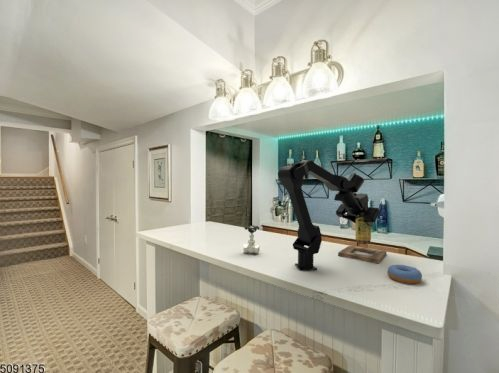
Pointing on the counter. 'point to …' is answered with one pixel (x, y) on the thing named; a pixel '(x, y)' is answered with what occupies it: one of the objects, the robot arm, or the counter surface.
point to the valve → (251, 241)
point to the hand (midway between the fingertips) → (365, 225)
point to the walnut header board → (375, 258)
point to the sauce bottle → (362, 229)
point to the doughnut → (404, 274)
